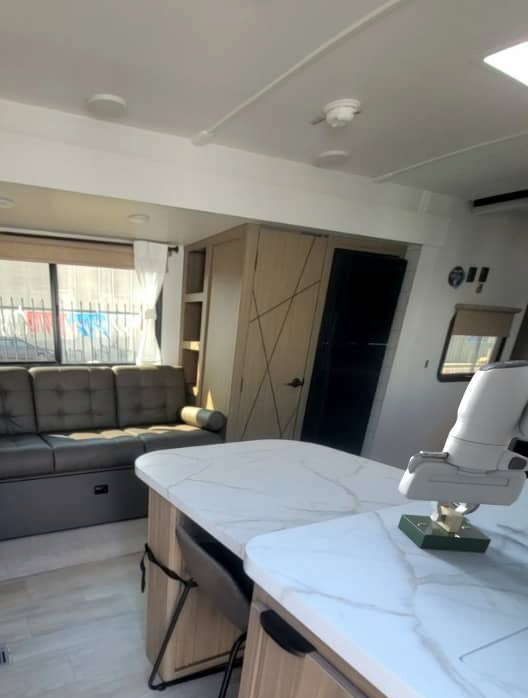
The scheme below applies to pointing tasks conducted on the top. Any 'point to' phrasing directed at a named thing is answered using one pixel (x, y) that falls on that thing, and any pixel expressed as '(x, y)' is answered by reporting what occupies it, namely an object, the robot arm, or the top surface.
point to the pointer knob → (451, 519)
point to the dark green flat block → (442, 535)
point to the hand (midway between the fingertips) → (444, 521)
